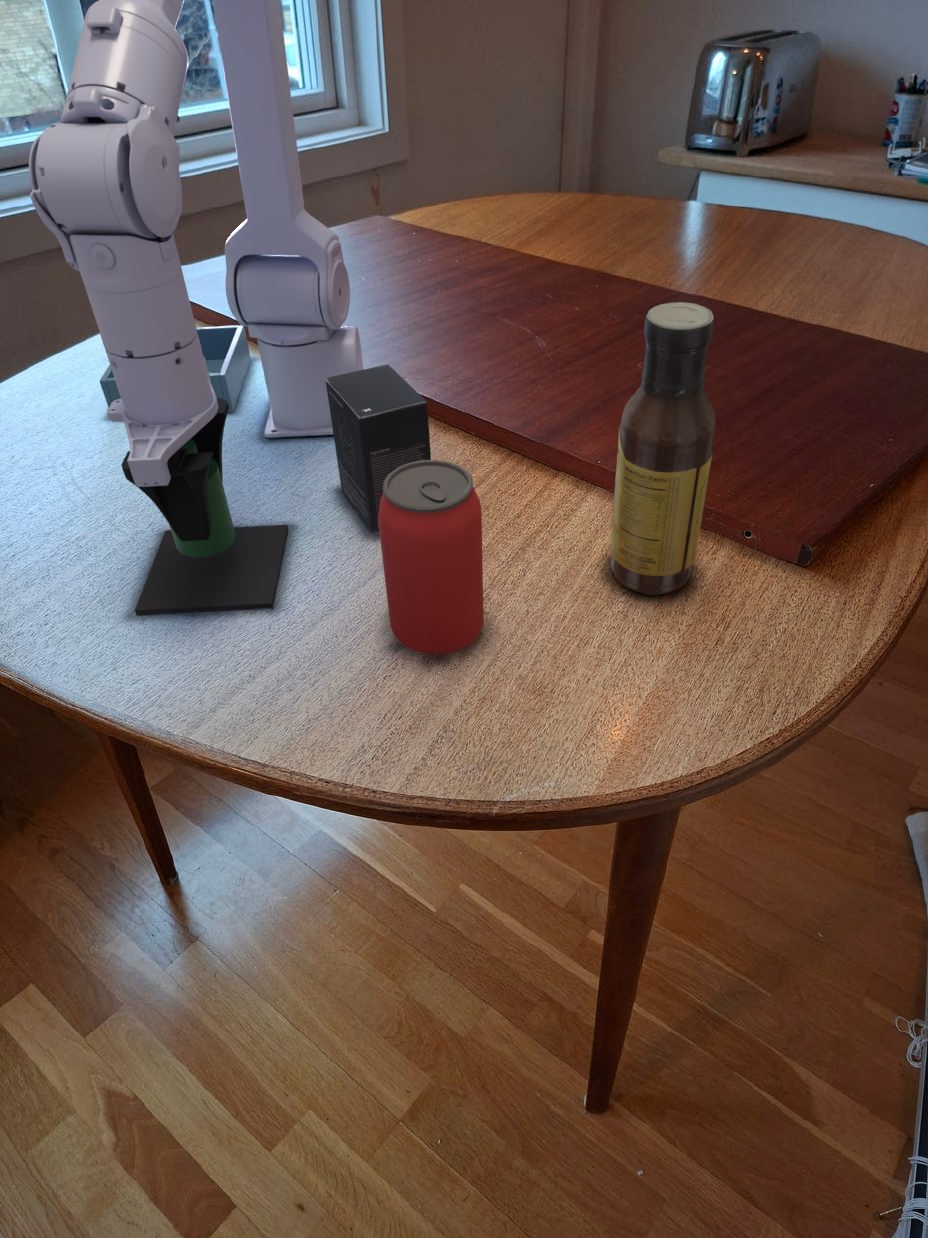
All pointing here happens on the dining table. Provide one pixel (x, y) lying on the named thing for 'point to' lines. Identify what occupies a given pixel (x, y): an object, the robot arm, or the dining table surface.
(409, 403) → the box
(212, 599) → the mat
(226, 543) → the bottle
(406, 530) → the beer can
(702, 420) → the sauce bottle
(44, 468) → the dining table surface
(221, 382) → the case
